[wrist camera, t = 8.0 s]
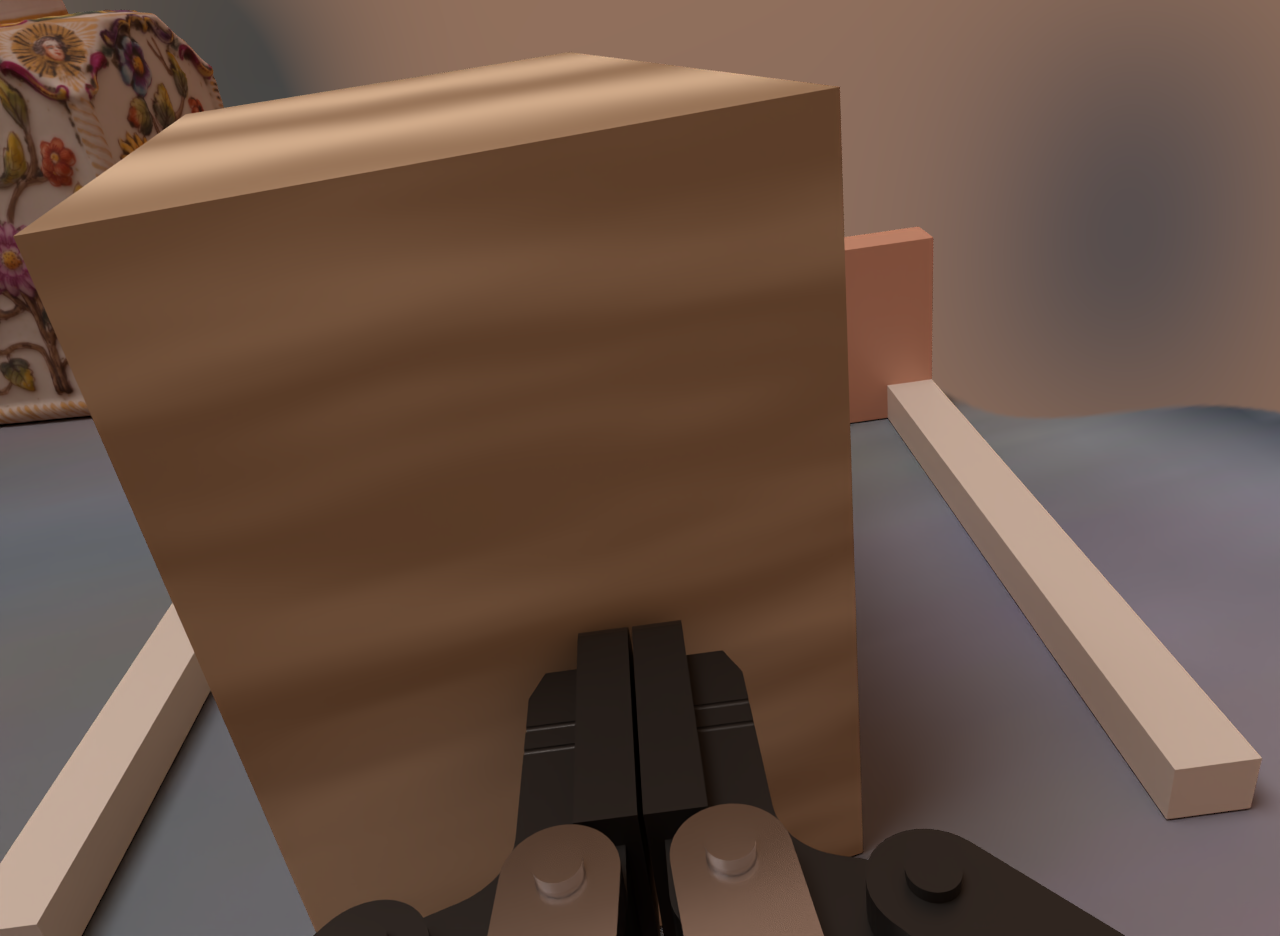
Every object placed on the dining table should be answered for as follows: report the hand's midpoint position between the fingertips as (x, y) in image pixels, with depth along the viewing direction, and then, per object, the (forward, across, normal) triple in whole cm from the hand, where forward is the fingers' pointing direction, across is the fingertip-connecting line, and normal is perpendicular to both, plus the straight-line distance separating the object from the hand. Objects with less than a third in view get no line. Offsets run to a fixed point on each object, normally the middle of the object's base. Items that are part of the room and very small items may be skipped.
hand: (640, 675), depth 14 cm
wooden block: (+7, -3, -5) cm, 9 cm away
